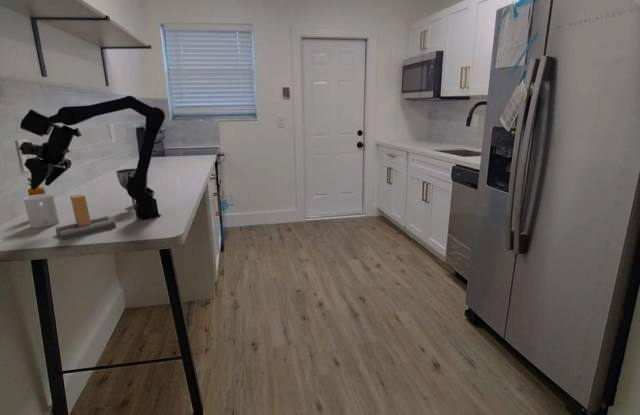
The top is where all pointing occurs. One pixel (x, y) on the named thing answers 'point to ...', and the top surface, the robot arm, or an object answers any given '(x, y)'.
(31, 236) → the top surface
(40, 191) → the carrot
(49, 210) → the cup
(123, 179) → the wine glass
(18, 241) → the top surface
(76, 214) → the fader tab
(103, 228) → the rail
